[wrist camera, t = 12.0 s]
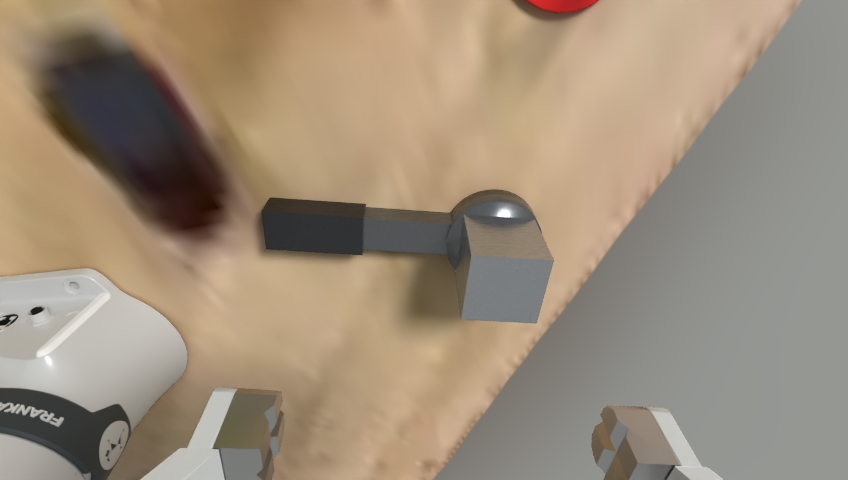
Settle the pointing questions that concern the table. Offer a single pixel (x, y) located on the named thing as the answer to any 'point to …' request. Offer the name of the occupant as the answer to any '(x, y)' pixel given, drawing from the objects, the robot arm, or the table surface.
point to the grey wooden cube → (501, 269)
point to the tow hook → (561, 5)
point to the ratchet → (379, 225)
